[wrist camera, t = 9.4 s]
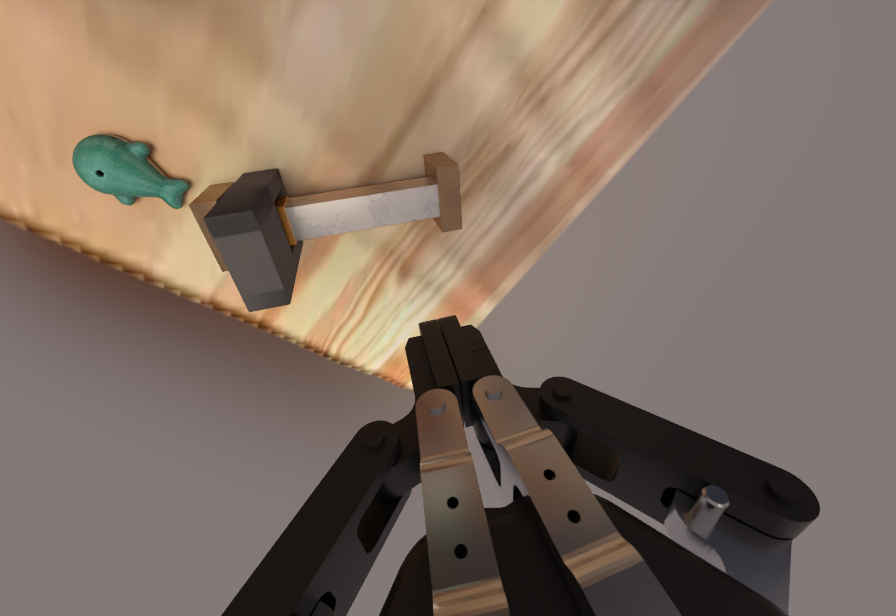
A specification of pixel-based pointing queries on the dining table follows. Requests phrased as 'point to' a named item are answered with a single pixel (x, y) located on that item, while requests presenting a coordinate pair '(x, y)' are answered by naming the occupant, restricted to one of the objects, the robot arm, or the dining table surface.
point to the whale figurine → (124, 170)
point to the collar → (255, 240)
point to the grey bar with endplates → (358, 205)
